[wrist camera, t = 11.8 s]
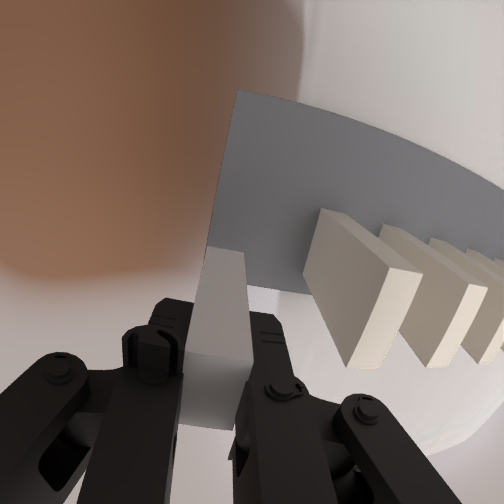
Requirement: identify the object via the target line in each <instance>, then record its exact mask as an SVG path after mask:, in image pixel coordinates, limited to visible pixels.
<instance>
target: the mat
mask: <svg viewBox="0 0 504 504" xmlns="http://www.w3.org/2000/svg"><path fill="white" fill-rule="evenodd" d="M321 208H324V209H328V210H333V211H337V212H341V213H345V214H346V215H348V216H349V217H350V218H352V219H353V220H355V221H356V222H357V223H359V224H360V225H361V226H363V227H364V228H365V229H367V230H368V231H369V232H371V233H372V234H373V235H375V236H376V237H377V238H378V237H379V234H380V231H381V228H382V225H383V224H387V225H390V226H394V227H398V228H401V229H403V230H405V231H406V232H408V233H409V234H411V235H413V236H414V237H416V238H417V239H419V240H421V241H422V242H424V243H425V244H427V245H428V244H429V241H430V238H431V237H432V238H436V239H439V240H442V241H446V242H447V243H449V244H450V245H452V246H454V247H455V248H457V249H459V250H460V251H462V252H463V253H465V254H466V251H467V248H468V249H471V250H474V251H477V252H479V253H481V254H483V255H484V256H486V257H488V258H489V259H491V260H492V261H494V259H495V258H498V259H501V260H504V190H503V189H501V188H499V187H498V186H496V185H494V184H493V183H491V182H489V181H488V180H486V179H484V178H482V177H481V176H479V175H477V174H475V173H474V172H472V171H470V170H468V169H466V168H464V167H462V166H461V165H459V164H457V163H455V162H453V161H451V160H449V159H447V158H445V157H443V156H441V155H439V154H437V153H435V152H432V151H430V150H428V149H426V148H424V147H422V146H419V145H417V144H415V143H413V142H410V141H408V140H406V139H403V138H401V137H398V136H396V135H393V134H391V133H388V132H386V131H383V130H381V129H378V128H376V127H373V126H370V125H367V124H365V123H362V122H359V121H356V120H353V119H350V118H347V117H344V116H341V115H338V114H335V113H332V112H329V111H325V110H322V109H319V108H315V107H312V106H308V105H305V104H301V103H297V102H293V101H289V100H285V99H281V98H277V97H273V96H269V95H264V94H259V93H255V92H250V91H245V90H239V89H238V90H237V94H236V99H235V103H234V107H233V112H232V116H231V121H230V125H229V130H228V135H227V139H226V145H225V149H224V154H223V159H222V163H221V168H220V173H219V178H218V184H217V189H216V194H215V199H214V205H213V211H212V216H211V222H210V227H209V233H208V239H207V244H206V250H207V246H211V247H216V248H222V249H227V250H233V251H238V252H244V261H245V272H246V283H247V285H252V286H258V287H264V288H271V289H277V290H283V291H290V292H296V293H303V294H310V295H312V293H311V291H310V289H309V287H308V285H307V283H306V281H305V279H304V277H303V275H302V274H303V270H304V267H305V264H306V260H307V257H308V253H309V250H310V246H311V243H312V239H313V236H314V232H315V229H316V225H317V221H318V218H319V214H320V210H321ZM206 250H205V254H206ZM204 258H205V256H204Z"/></svg>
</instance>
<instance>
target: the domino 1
mask: <svg viewBox="0 0 504 504" xmlns="http://www.w3.org/2000/svg"><path fill="white" fill-rule="evenodd" d="M302 275H303V277H304V279H305V281H306V283H307V285H308V287H309V289H310V291H311V293H312V296H313V298H314V300H315V302H316V304H317V306H318V308H319V310H320V312H321V315H322V317H323V319H324V321H325V323H326V325H327V328H328V330H329V332H330V334H331V336H332V338H333V341H334V343H335V345H336V347H337V349H338V352H339V354H340V356H341V358H342V360H343V363H344V365H345V367H346V368H366V369H378V368H379V366H380V365H381V363H382V361H383V359H384V357H385V356H386V354H387V352H388V350H389V348H390V346H391V344H392V342H393V340H394V338H395V336H396V334H397V332H398V330H399V328H400V326H401V324H402V322H403V320H404V318H405V316H406V313H407V311H408V309H409V307H410V305H411V302H412V300H413V298H414V296H415V293H416V291H417V288H418V286H419V284H420V281H421V279H422V276H423V273H421V272H420V271H419V270H418V269H417V268H415V267H414V266H413V265H412V264H410V263H409V262H408V261H407V260H406V259H404V258H403V257H402V256H401V255H399V254H398V253H397V252H395V251H394V250H393V249H392V248H390V247H389V246H388V245H387V244H385V243H384V242H383V241H381V240H380V239H379V238H377V237H376V236H375V235H373V234H372V233H371V232H369V231H368V230H367V229H365V228H364V227H363V226H361V225H360V224H359V223H357V222H356V221H355V220H353V219H352V218H350V217H349V216H348V215H346V214H345V213H341V212H337V211H333V210H328V209H324V208H321V210H320V214H319V218H318V221H317V225H316V229H315V232H314V236H313V239H312V243H311V246H310V250H309V253H308V257H307V260H306V264H305V267H304V270H303V274H302Z"/></svg>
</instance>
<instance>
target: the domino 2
mask: <svg viewBox="0 0 504 504" xmlns="http://www.w3.org/2000/svg"><path fill="white" fill-rule="evenodd" d="M378 238H379V239H380V240H381V241H383V242H384V243H385V244H387V245H388V246H389V247H390V248H392V249H393V250H394V251H395V252H397V253H398V254H399V255H401V256H402V257H403V258H404V259H406V260H407V261H408V262H409V263H410V264H412V265H413V266H414V267H415V268H417V269H418V270H419V271H420V272H421V273H423V276H422V279H421V281H420V284H419V286H418V288H417V291H416V293H415V296H414V298H413V300H412V302H411V305H410V307H409V309H408V311H407V313H406V316H405V318H404V320H403V322H402V324H401V326H400V328H399V330H398V331H399V332H400V334H401V335H402V336H403V338H404V339H405V340H406V342H407V343H408V344H409V346H410V347H411V348H412V350H413V351H414V353H415V354H416V355H417V357H418V358H419V359H420V361H421V362H422V364H423V365H424V366H425V368H435V367H447V366H448V364H449V363H450V361H451V359H452V358H453V356H454V354H455V353H456V351H457V349H458V348H459V346H460V344H461V342H462V340H463V339H464V337H465V335H466V333H467V331H468V329H469V327H470V326H471V324H472V322H473V320H474V318H475V316H476V314H477V312H478V310H479V307H480V305H481V303H482V301H483V299H484V297H485V294H486V292H487V290H488V287H487V286H485V285H484V284H483V283H481V282H480V281H479V280H477V279H476V278H475V277H473V276H472V275H471V274H469V273H468V272H466V271H465V270H464V269H462V268H461V267H459V266H458V265H456V264H455V263H454V262H452V261H451V260H449V259H448V258H446V257H445V256H443V255H442V254H440V253H439V252H437V251H436V250H434V249H433V248H431V247H430V246H428V245H427V244H425V243H424V242H422V241H421V240H419V239H417V238H416V237H414V236H413V235H411V234H409V233H408V232H406V231H405V230H403V229H401V228H398V227H394V226H390V225H387V224H383V225H382V228H381V231H380V234H379V237H378Z"/></svg>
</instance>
